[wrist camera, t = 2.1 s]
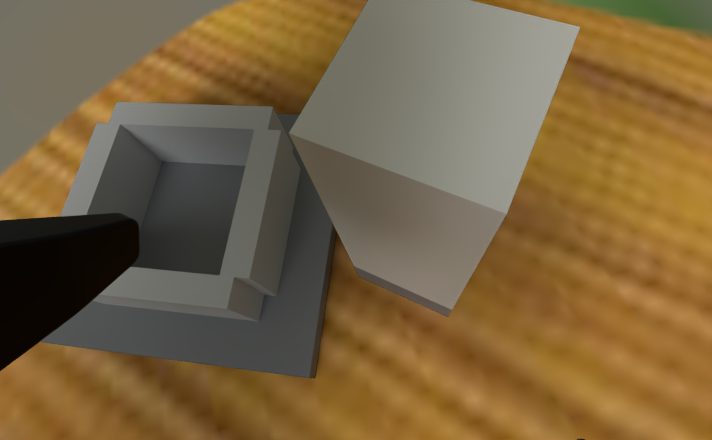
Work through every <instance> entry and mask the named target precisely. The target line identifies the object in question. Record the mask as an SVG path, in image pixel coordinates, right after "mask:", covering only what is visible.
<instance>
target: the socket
mask: <svg viewBox="0 0 712 440" xmlns="http://www.w3.org/2000/svg"><path fill="white" fill-rule="evenodd" d="M299 115H300V114H276V112H275V110H274V108H273V107H272V106H238V105H204V104H170V103H136V102H117V103H116V105H115V108H114V110H113V113H112V116H111V118H110V121H109V123H108V124H105V123H97V124H96V127H95V129H94V132H93V134H92V137H91V139H90V142H89V144H88V147H87V149H86V152H85V155H84V157H83V160H82V162H81V165H80V167H79V170H78V172H77V175H76V177H75V180H74V182H73V185H72V188H71V190H70V193H69V195H68V198H67V200H66V203H65V205H64V208H63V210H62V213H61V215H60V217H61V216H76V215H91V214H106V213H122V214H125V215H127V216H129V217H131V218H133V219H135V220H136V221H137V222H138V224H139V235H140V254H139V257H138V259H137V261H136V262H135V263H134V264H133V265H132V266H131V267H130V268H129V269H127V270H126V271H125V272H124V273H123V274H122V275H121V276H120V277H118V278H117V279H116V280H115V281H114V282H113V283H112V284H111V285H109V286H108V287H107V288H106V289H105V290H104V291H103V292H101V293H100V294H99V295H98V296H97V297H96V298H95V299H94V300H92V301H91V302H90V303H89V304H88V305H87V306H86V307H84V308H83V309H82V310H81V311H80V312H79V313H77V314H76V315H75V316H73V317H72V318H71V319H70V320H68V321H67V322H66V323H64V324H63V325H62V326H60V327H59V328H58V329H56V330H55V331H53V332H52V333H51V334H49V335H48V336H47V337H45V338H44V339H43V340H41V341H40V342H44V343H51V344H59V345H66V346H74V347H81V348H89V349H96V350H104V351H111V352H118V353H126V354H133V355H141V356H148V357H156V358H163V359H171V360H178V361H186V362H193V363H201V364H208V365H216V366H223V367H231V368H238V369H246V370H253V371H260V372H268V373H275V374H283V375H290V376H298V377H305V378H315V376H316V369H317V362H318V355H319V348H320V341H321V335H322V328H323V321H324V314H325V307H326V300H327V294H328V287H329V280H330V273H331V266H332V259H333V252H334V246H335V239H336V232H337V231H336V229H335V227H334V225H333V223H332V221H331V218H330V216H329V214H328V212H327V210H326V208H325V206H324V204H323V202H322V200H321V198H320V196H319V194H318V192H317V190H316V188H315V186H314V184H313V182H312V180H311V178H310V176H309V174H308V172H307V169H306V167H305V165H304V163H303V161H302V159H301V157H300V155H299V153H298V151H297V149H296V147H295V145H294V143H293V141H292V139H291V137H290V135H289V132H290V130H291V129H292V127H293V125H294V124H295V122H296V120H297V119H298V117H299Z"/></svg>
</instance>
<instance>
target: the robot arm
mask: <svg viewBox="0 0 712 440" xmlns="http://www.w3.org/2000/svg"><path fill="white" fill-rule="evenodd" d="M139 254H140V235H139V224H138V222H137V221H136V220H135V219H133V218H131V217H129V216H127V215H125V214H122V213H106V214H91V215H76V216H61V217H46V218H31V219H16V220H1V221H0V371H1V370H2V369H4V368H5V367H6V366H8V365H9V364H10V363H12V362H13V361H14V360H16V359H17V358H19V357H20V356H21V355H23V354H24V353H25V352H27V351H28V350H29V349H31V348H32V347H33V346H35V345H36V344H37V343H39V342H40V341H41V340H43V339H44V338H45V337H47V336H48V335H49V334H51V333H52V332H53V331H55V330H56V329H58V328H59V327H60V326H62V325H63V324H64V323H66V322H67V321H68V320H70V319H71V318H72V317H73V316H75V315H76V314H77V313H79V312H80V311H81V310H82V309H83V308H84V307H86V306H87V305H88V304H89V303H90V302H91V301H92V300H94V299H95V298H96V297H97V296H98V295H99V294H100V293H101V292H103V291H104V290H105V289H106V288H107V287H108V286H109V285H111V284H112V283H113V282H114V281H115V280H116V279H117V278H118V277H120V276H121V275H122V274H123V273H124V272H125V271H126V270H127V269H129V268H130V267H131V266H132V265H133V264H134V263H135V262H136V261H137V259H138V257H139ZM577 440H585V439H577Z"/></svg>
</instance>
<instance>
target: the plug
mask: <svg viewBox="0 0 712 440" xmlns="http://www.w3.org/2000/svg"><path fill="white" fill-rule="evenodd" d="M579 29H580V27H578V26H574V25H570V24H566V23H562V22H558V21H554V20H549V19H545V18H541V17H537V16H533V15H529V14H525V13H520V12H516V11H512V10H508V9H504V8H500V7H496V6H491V5H487V4H483V3H479V2H475V1H471V0H368V2H367V4H366V5H365V7H364V9H363V10H362V12H361V14H360V15H359V17H358V19H357V20H356V22H355V24H354V25H353V27H352V29H351V30H350V32H349V34H348V35H347V37H346V39H345V40H344V42H343V44H342V45H341V47H340V49H339V50H338V52H337V54H336V55H335V57H334V59H333V60H332V62H331V64H330V65H329V67H328V69H327V70H326V72H325V74H324V75H323V77H322V79H321V80H320V82H319V84H318V85H317V87H316V89H315V90H314V92H313V94H312V95H311V97H310V99H309V100H308V102H307V104H306V105H305V107H304V109H303V110H302V112H301V114H300V115H299V117H298V119H297V120H296V122H295V124H294V125H293V127H292V129H291V130H290V132H289V135H290V137H291V139H292V141H293V143H294V145H295V147H296V149H297V151H298V153H299V155H300V157H301V159H302V161H303V163H304V165H305V167H306V169H307V172H308V174H309V176H310V178H311V180H312V182H313V184H314V186H315V188H316V190H317V192H318V194H319V196H320V198H321V200H322V202H323V204H324V206H325V208H326V210H327V212H328V214H329V216H330V218H331V221H332V223H333V225H334V227H335V229H336V231H337V233H338V235H339V237H340V239H341V241H342V243H343V245H344V247H345V249H346V251H347V253H348V255H349V257H350V259H351V261H352V263H353V265H354V268H355V270H356V272H357V274H358V276H359V277H361V278H363V279H365V280H367V281H370V282H372V283H374V284H376V285H378V286H381V287H383V288H385V289H387V290H389V291H392V292H394V293H396V294H398V295H401V296H403V297H405V298H407V299H409V300H412V301H414V302H416V303H418V304H420V305H423V306H425V307H427V308H429V309H431V310H434V311H436V312H438V313H440V314H442V315H445V316H447V317H448V316H449V314H450V313H451V311H452V309H453V307H454V305H455V304H456V302H457V300H458V298H459V297H460V295H461V293H462V291H463V290H464V288H465V286H466V284H467V283H468V281H469V279H470V277H471V276H472V274H473V272H474V270H475V269H476V267H477V265H478V263H479V262H480V260H481V258H482V256H483V255H484V253H485V251H486V249H487V248H488V246H489V244H490V242H491V241H492V239H493V237H494V235H495V234H496V232H497V230H498V228H499V227H500V225H501V223H502V221H503V220H504V218H505V216H506V214H507V212H508V210H509V207H510V204H511V202H512V199H513V197H514V194H515V192H516V189H517V187H518V184H519V182H520V179H521V177H522V174H523V171H524V169H525V166H526V164H527V161H528V159H529V156H530V154H531V151H532V149H533V146H534V143H535V141H536V138H537V136H538V133H539V131H540V128H541V126H542V123H543V121H544V118H545V116H546V113H547V110H548V108H549V105H550V103H551V100H552V98H553V95H554V93H555V90H556V88H557V85H558V83H559V80H560V77H561V75H562V72H563V70H564V67H565V65H566V62H567V60H568V57H569V55H570V52H571V50H572V47H573V44H574V42H575V39H576V37H577V34H578V32H579Z"/></svg>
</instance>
